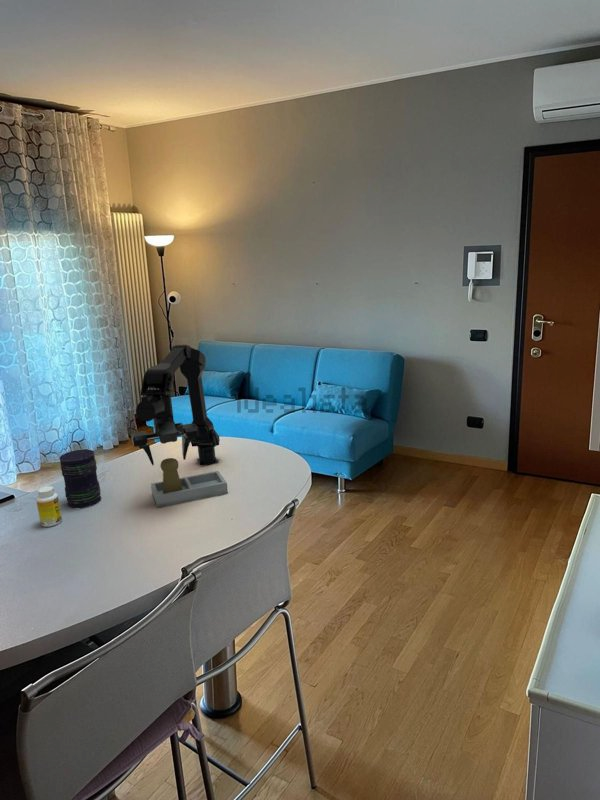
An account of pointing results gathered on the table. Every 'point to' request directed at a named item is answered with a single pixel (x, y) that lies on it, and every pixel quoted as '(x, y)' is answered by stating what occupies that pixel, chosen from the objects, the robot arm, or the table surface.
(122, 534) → the table surface
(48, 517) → the supplement bottle
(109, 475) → the table surface
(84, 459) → the storage jar
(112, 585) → the table surface
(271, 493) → the table surface
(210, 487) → the caddy
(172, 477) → the olive rounded piece
